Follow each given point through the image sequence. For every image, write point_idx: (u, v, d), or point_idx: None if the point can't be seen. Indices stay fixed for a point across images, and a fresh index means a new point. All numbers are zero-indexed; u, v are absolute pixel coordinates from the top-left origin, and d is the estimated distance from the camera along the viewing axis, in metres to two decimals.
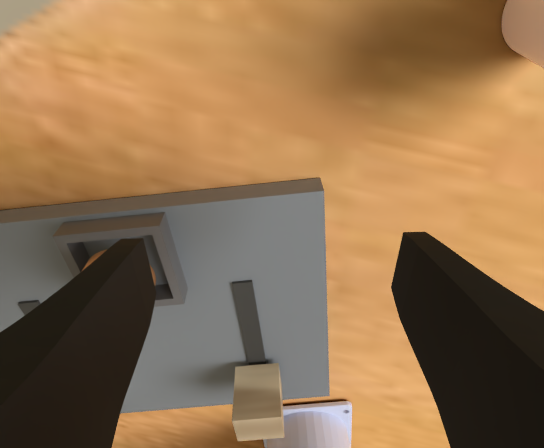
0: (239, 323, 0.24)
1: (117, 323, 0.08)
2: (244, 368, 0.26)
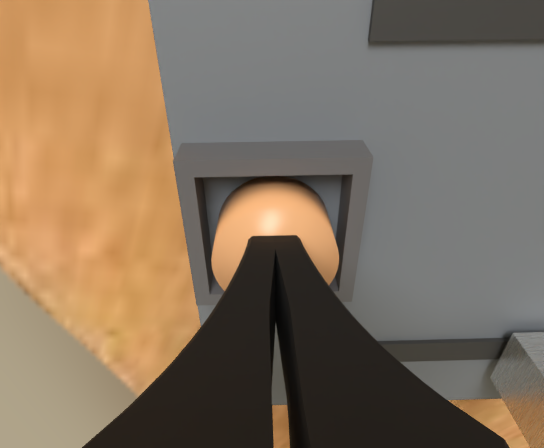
0: (503, 42, 0.10)
1: (272, 318, 0.09)
2: None
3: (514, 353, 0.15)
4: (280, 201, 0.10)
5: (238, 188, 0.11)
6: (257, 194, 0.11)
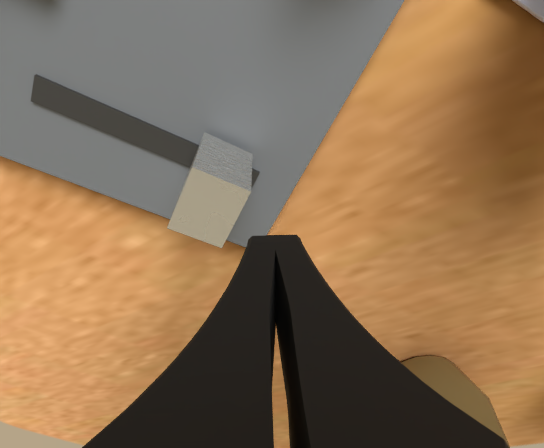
0: None
1: (272, 319, 0.09)
2: None
3: (198, 148, 0.17)
4: None
5: None
6: None
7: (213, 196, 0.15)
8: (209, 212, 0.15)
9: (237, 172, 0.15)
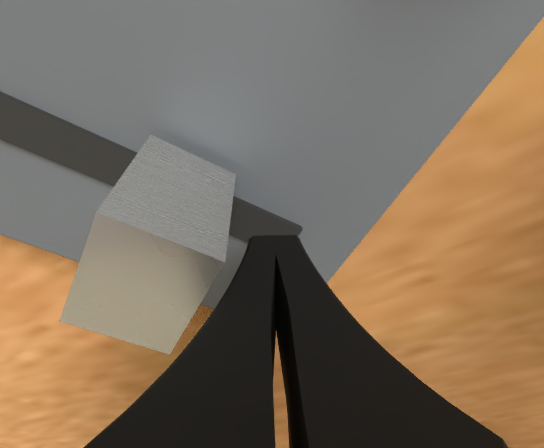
0: None
1: (273, 318, 0.09)
2: None
3: None
4: None
5: None
6: None
7: (146, 269, 0.07)
8: (141, 297, 0.07)
9: (201, 216, 0.08)
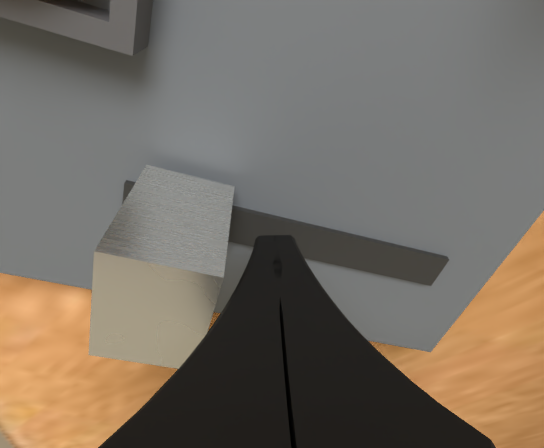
0: None
1: None
2: None
3: None
4: None
5: None
6: None
7: (152, 296, 0.07)
8: (155, 322, 0.08)
9: (199, 236, 0.08)
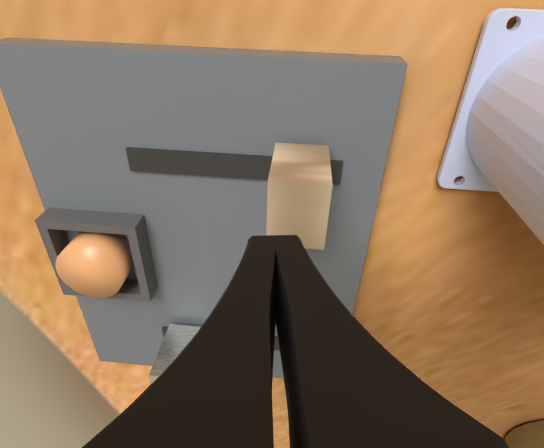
0: (200, 175, 0.19)
1: (272, 318, 0.09)
2: None
3: None
4: (87, 242, 0.20)
5: (80, 231, 0.21)
6: (81, 237, 0.20)
7: None
8: None
9: None
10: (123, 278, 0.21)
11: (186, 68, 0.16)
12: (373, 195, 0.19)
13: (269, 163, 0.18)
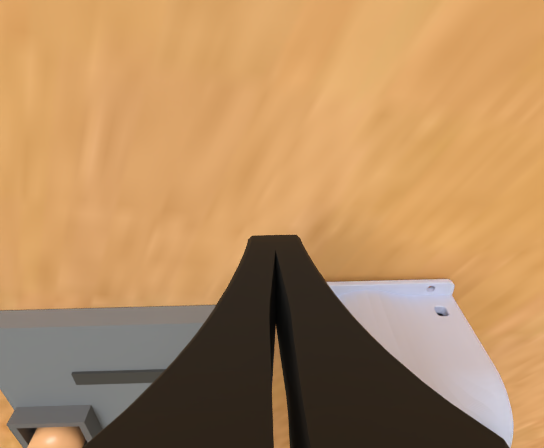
0: None
1: (272, 318, 0.09)
2: None
3: None
4: (48, 436, 0.27)
5: None
6: (44, 429, 0.27)
7: None
8: None
9: None
10: None
11: (108, 332, 0.23)
12: None
13: None
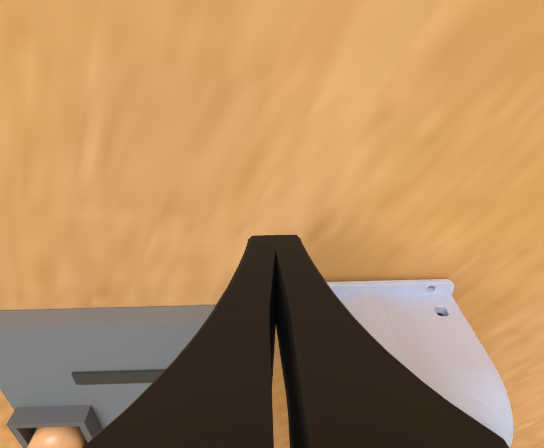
0: None
1: (272, 318, 0.09)
2: None
3: None
4: (48, 436, 0.27)
5: None
6: (44, 429, 0.27)
7: None
8: None
9: None
10: None
11: (108, 332, 0.23)
12: None
13: None
